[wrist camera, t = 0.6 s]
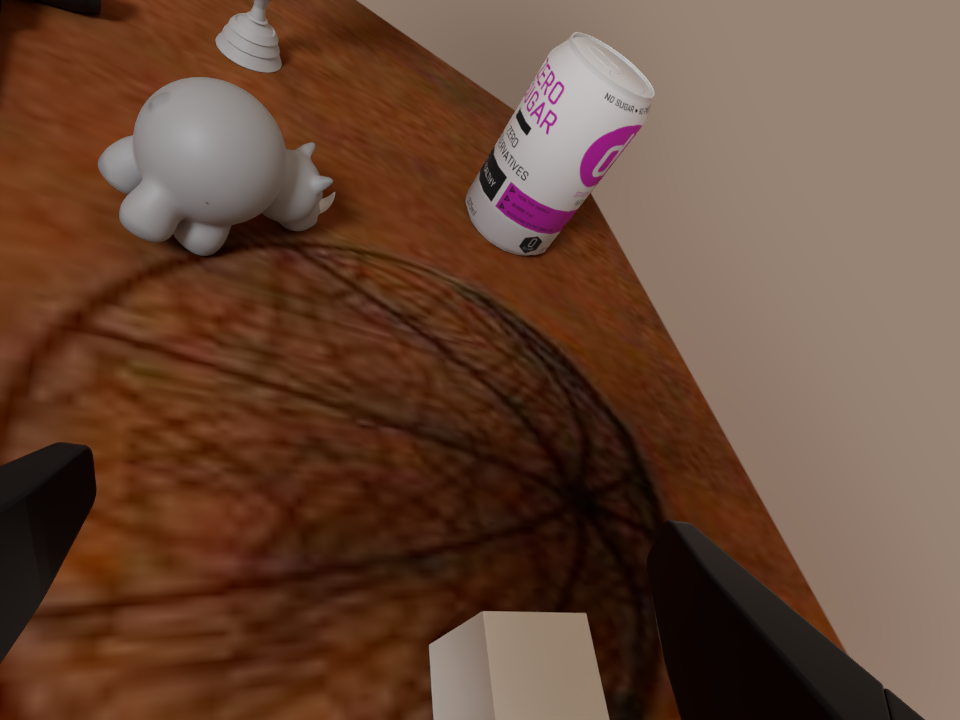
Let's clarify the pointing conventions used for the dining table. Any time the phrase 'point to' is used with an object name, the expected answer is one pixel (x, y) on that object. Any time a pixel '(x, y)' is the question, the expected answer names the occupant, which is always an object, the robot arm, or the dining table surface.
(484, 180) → the supplement can
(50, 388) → the dining table surface
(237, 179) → the round bodied animal figurine
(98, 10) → the toy submachine gun
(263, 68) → the chalice
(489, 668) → the white block dumbbell
